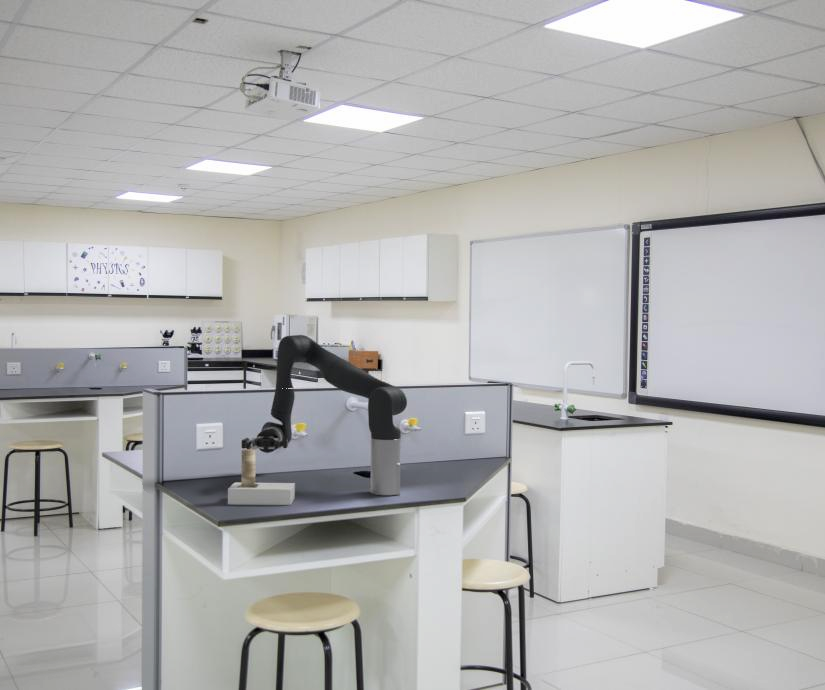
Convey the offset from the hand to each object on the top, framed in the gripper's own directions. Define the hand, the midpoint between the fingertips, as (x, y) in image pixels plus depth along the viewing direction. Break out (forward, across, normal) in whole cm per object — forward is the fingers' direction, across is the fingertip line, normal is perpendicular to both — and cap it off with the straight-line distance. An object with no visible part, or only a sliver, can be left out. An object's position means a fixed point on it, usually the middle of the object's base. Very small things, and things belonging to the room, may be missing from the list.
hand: (261, 446), depth 261 cm
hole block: (+12, +2, +15) cm, 19 cm away
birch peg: (+12, -2, +14) cm, 19 cm away
